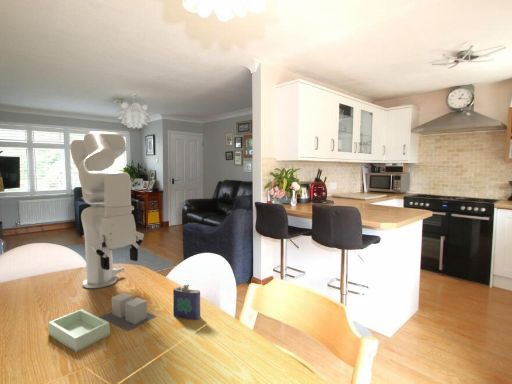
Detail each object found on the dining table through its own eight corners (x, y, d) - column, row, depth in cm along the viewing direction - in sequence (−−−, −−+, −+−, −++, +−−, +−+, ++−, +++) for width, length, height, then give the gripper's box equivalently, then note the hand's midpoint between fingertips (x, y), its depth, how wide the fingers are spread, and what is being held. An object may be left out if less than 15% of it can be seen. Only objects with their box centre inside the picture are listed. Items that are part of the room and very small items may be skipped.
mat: (127, 305, 100) (127, 304, 100) (156, 317, 92) (156, 316, 92) (99, 317, 92) (99, 316, 92) (128, 332, 84) (128, 331, 84)
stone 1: (124, 308, 97) (124, 292, 97) (133, 311, 95) (132, 295, 95) (112, 314, 94) (111, 297, 93) (120, 317, 91) (119, 300, 91)
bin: (82, 321, 90) (81, 308, 89) (109, 336, 82) (109, 322, 82) (49, 335, 82) (48, 322, 82) (76, 353, 74) (75, 338, 74)
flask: (201, 317, 92) (201, 284, 92) (197, 322, 90) (196, 288, 89) (176, 313, 95) (175, 281, 94) (171, 317, 92) (170, 285, 91)
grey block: (138, 313, 94) (137, 297, 93) (147, 317, 91) (146, 300, 91) (125, 320, 90) (124, 302, 89) (134, 324, 88) (133, 306, 87)
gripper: (135, 207, 101) (136, 255, 102) (83, 214, 86) (86, 270, 88) (149, 209, 97) (150, 259, 98) (97, 216, 82) (100, 275, 84)
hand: (120, 264), depth 93 cm, fingers open, 9 cm apart
